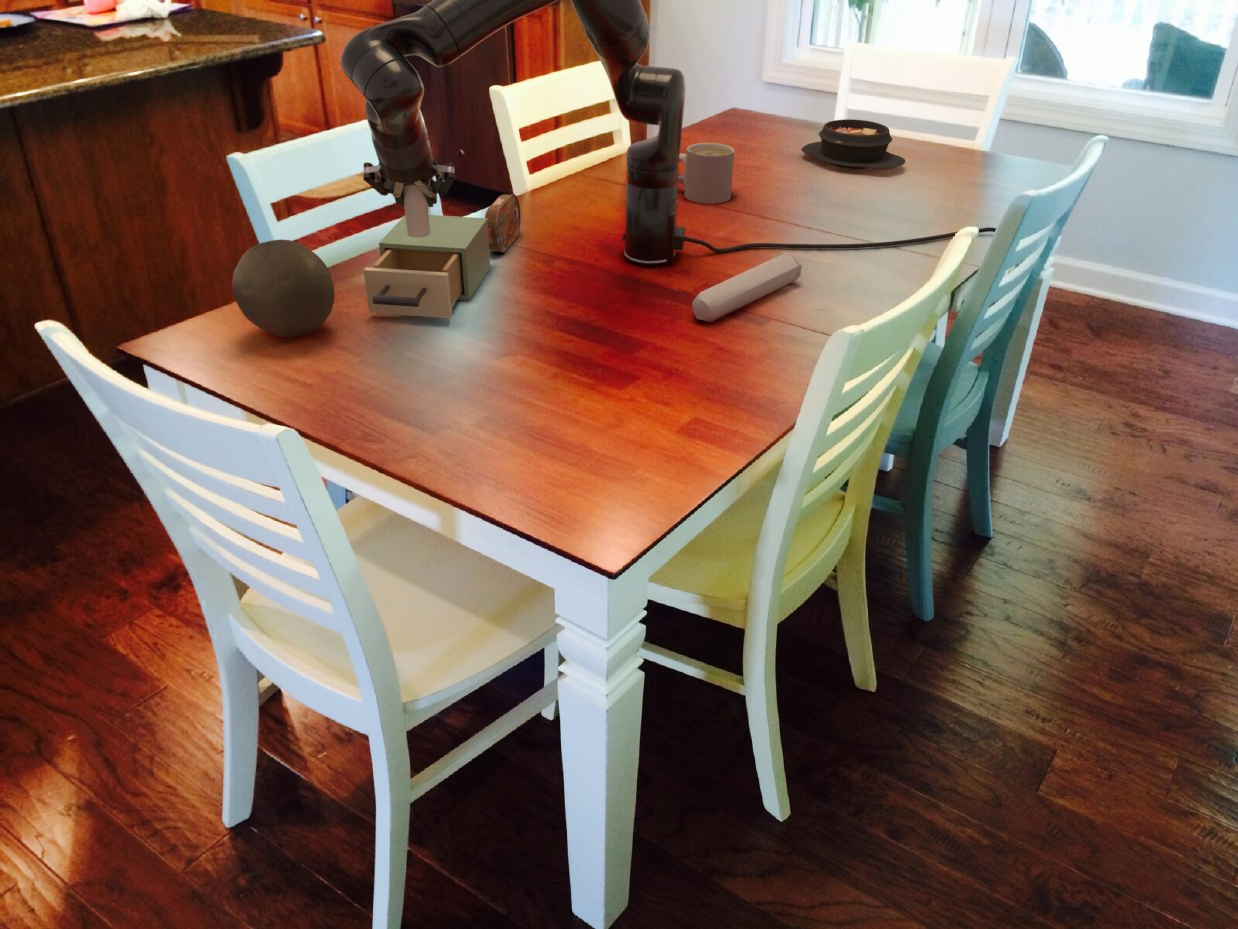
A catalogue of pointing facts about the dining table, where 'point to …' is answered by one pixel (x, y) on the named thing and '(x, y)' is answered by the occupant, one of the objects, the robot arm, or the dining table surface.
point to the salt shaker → (416, 211)
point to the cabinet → (449, 245)
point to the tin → (503, 222)
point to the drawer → (414, 283)
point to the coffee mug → (707, 172)
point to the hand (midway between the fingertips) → (417, 201)
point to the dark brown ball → (283, 288)
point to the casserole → (854, 145)
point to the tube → (746, 287)
